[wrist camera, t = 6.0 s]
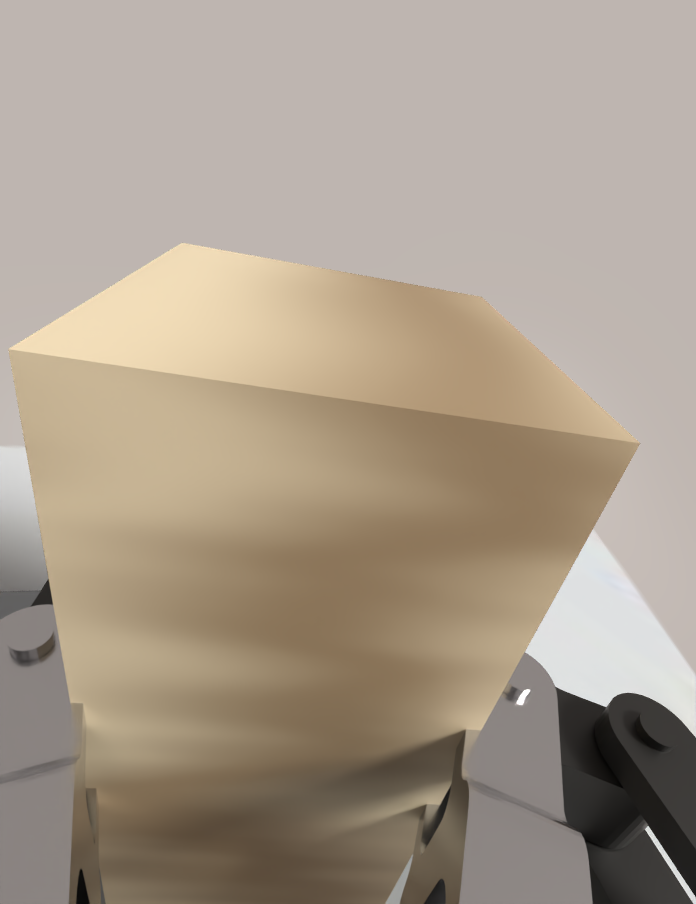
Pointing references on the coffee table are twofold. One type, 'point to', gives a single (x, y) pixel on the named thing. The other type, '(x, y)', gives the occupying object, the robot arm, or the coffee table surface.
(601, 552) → the coffee table surface
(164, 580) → the birch block
